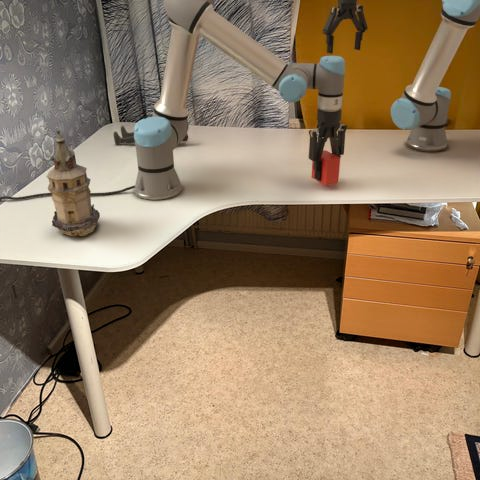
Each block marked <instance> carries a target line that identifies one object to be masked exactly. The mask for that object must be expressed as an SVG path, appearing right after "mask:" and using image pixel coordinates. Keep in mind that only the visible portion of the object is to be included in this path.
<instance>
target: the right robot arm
mask: <svg viewBox="0 0 480 480" xmlns="http://www.w3.org/2000/svg"><path fill="white" fill-rule="evenodd" d="M358 1H359V0H337V7H336V6H335V7H334V6H331V7H330V11H329V15H328V17H327V20H326V22H325V24H324V27H323V29H322V32H321V33H322V34H323V35H326V36H325V37H326V41H325V45H326V53H328V54H331V55H332V54H334V53H333V52H334V41H335V40H334V39H335V36H334V35H333V34H334V33H335V32H336V29H337V28H338V27H339V26H340V24H341V22H342V21H343V20H351V22H352V24H353V25H354V27H355V29H356V31H355V36H354V47H353V49H354V50H356V51H361V46H362V41H363V36H364V33H366V31H368V29H369V28H368V25H367V24H368V23H367V20H366V17H365V14H364V6H363V5H362V4H358ZM441 3H442V9H441V11H440V16H441V18H442V20H441V22H440V24H439V27H438V28H437V31H436V33H435V35H434V36H433V39H432V41H431V43H430V46H429V48H428V50H427V51H426V54H425V56H424V58H423V60H422V62H421V65H420V67H419V69H418V71H417V73H416V75H415V77H414V80H413V81H412V83H411V84H408V85H407V86H406V87H405V89H404V91H403V93H402V95H401V97H400V98H398V99H396V100H394V102H393V103H392V105H391V107H390V117H391V119H392V122H393V123H394V125H395V126H396V127H397V128H399V129H400V130H404V131H409V130H410V132H409V134H408V135H407V138H406V142H405V144H406V146H407V147H408V148H409V149H412V150H414V151H418V152H424V153H437V152H442V151H445V150H446V149H447V147H448V138H447V132H446V125H448V124H449V122H450V119H449V118H448V114H449V109H450V103H451V100H452V99H451V96H452V92H451V90H450V89H449V88H447V87H442V86H440V85H441V82H442V81H443V79H444V76H445V75H446V73H447V71H448V69H449V66H450V65H451V63H452V61H453V59H454V57H455V55H456V54H457V51H458V49H459V47H460V45H461V43H462V41H463V39H464V37H465V35H466V33H467V32H468V30H469V29H471V28H473V27H475V26H476V24H477V22H478V20H479V18H480V0H441Z"/></svg>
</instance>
